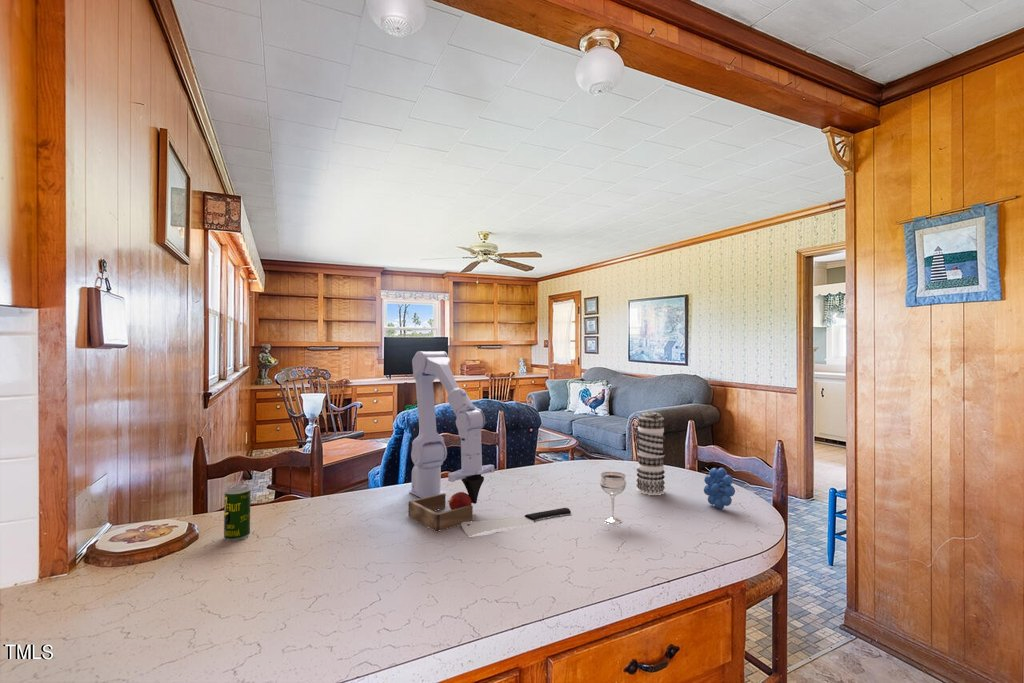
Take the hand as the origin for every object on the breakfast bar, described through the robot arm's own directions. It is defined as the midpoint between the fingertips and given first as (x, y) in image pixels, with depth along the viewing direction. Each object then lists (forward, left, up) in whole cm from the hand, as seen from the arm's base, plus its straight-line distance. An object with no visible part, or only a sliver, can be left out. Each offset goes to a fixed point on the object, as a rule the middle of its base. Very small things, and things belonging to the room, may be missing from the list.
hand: (472, 503), depth 131 cm
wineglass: (+29, +25, -3) cm, 38 cm away
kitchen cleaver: (+15, +5, -3) cm, 16 cm away
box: (-1, -10, -2) cm, 10 cm away
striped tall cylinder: (+21, +55, -3) cm, 59 cm away
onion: (-1, 0, -1) cm, 1 cm away
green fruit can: (-21, -53, -3) cm, 57 cm away
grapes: (+43, +57, -3) cm, 71 cm away
